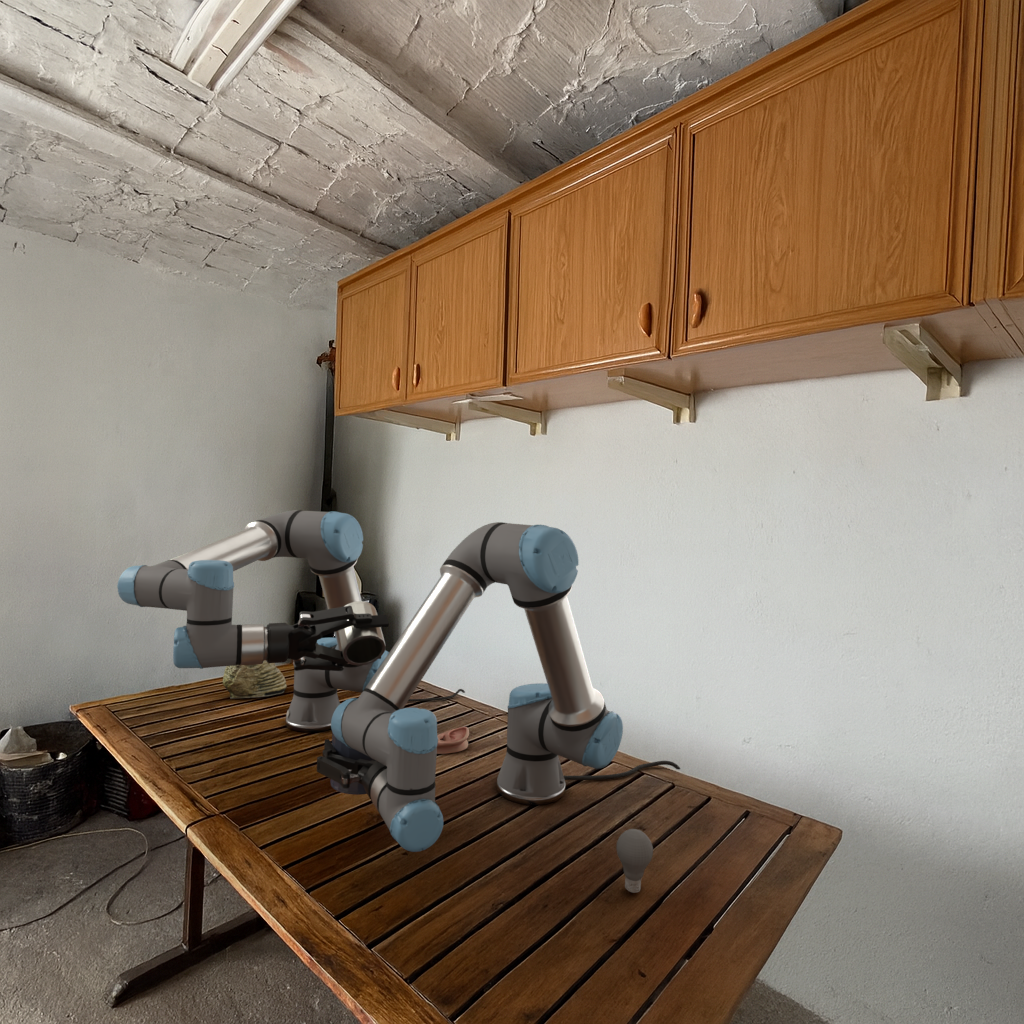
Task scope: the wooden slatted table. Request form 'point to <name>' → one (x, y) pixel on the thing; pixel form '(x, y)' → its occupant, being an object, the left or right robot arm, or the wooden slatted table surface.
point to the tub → (352, 754)
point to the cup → (362, 638)
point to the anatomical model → (453, 740)
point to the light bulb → (634, 857)
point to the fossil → (254, 680)
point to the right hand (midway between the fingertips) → (358, 741)
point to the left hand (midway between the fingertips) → (383, 637)
